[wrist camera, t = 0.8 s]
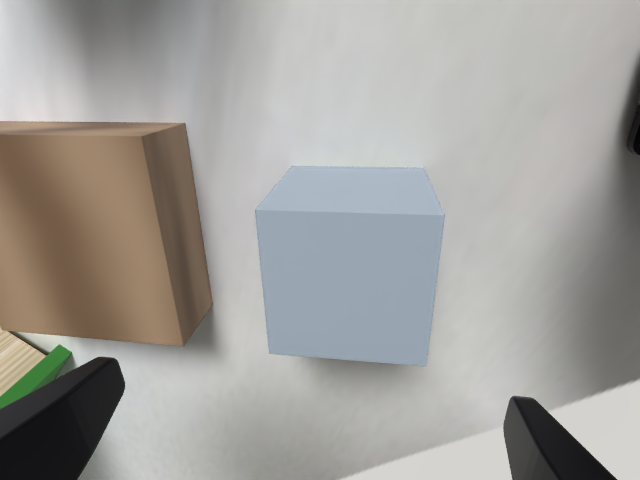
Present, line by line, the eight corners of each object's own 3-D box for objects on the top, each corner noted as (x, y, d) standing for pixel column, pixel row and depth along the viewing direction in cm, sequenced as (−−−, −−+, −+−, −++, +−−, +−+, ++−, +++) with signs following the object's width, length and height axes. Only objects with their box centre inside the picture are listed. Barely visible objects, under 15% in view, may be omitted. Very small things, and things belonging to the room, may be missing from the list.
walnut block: (188, 122, 18) (141, 136, 14) (215, 300, 22) (183, 346, 19) (1, 120, 19) (-86, 133, 16) (59, 289, 23) (2, 330, 20)
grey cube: (424, 167, 17) (445, 215, 12) (413, 282, 20) (426, 366, 14) (292, 165, 18) (255, 210, 12) (298, 276, 20) (269, 353, 15)
